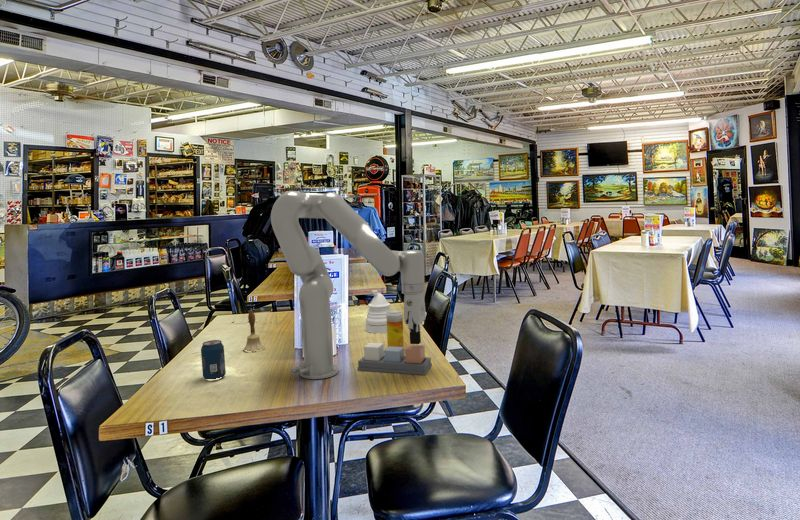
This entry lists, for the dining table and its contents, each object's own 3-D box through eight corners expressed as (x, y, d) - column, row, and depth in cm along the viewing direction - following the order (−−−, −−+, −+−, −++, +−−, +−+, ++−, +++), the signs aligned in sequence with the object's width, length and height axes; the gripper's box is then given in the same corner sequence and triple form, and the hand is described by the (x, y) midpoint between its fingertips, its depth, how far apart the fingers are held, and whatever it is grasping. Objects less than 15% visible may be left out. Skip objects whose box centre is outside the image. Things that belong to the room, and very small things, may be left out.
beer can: (402, 352, 172) (400, 313, 171) (386, 352, 174) (384, 313, 172) (405, 348, 178) (403, 309, 177) (389, 347, 180) (388, 309, 178)
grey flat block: (431, 365, 156) (431, 357, 156) (425, 375, 148) (424, 365, 147) (367, 361, 163) (367, 353, 163) (357, 370, 155) (357, 361, 154)
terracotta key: (424, 358, 155) (424, 345, 154) (421, 363, 150) (420, 350, 149) (409, 357, 156) (409, 344, 156) (405, 362, 151) (405, 349, 151)
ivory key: (384, 356, 159) (383, 343, 159) (379, 360, 154) (378, 347, 154) (369, 355, 161) (369, 342, 160) (364, 359, 156) (363, 346, 155)
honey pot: (373, 335, 200) (372, 293, 198) (361, 329, 211) (359, 290, 210) (399, 330, 206) (398, 290, 204) (386, 325, 217) (385, 287, 216)
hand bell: (265, 350, 182) (263, 310, 180) (243, 353, 179) (240, 313, 177) (263, 345, 189) (261, 307, 188) (242, 348, 186) (239, 309, 185)
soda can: (203, 376, 154) (200, 341, 153) (225, 373, 156) (223, 338, 155) (202, 383, 147) (199, 346, 146) (226, 380, 150) (223, 343, 149)
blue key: (404, 360, 157) (403, 347, 157) (399, 364, 152) (399, 351, 152) (389, 359, 159) (389, 346, 158) (384, 363, 154) (384, 350, 153)
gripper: (418, 292, 143) (420, 350, 144) (429, 284, 157) (431, 337, 159) (395, 292, 145) (397, 349, 147) (408, 284, 159) (410, 337, 161)
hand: (415, 343), depth 153 cm, fingers closed
